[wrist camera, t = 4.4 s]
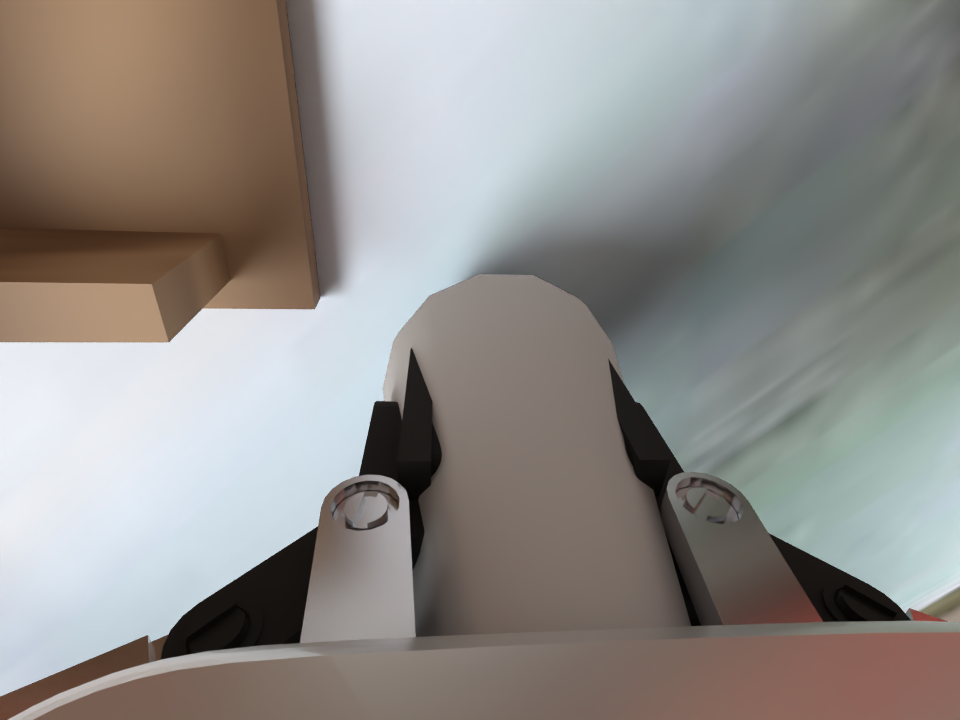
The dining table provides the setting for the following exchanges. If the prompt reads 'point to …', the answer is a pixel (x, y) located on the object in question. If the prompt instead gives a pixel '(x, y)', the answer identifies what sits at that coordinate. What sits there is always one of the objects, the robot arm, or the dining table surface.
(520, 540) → the salt shaker
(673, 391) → the dining table surface
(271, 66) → the walnut U-rest
